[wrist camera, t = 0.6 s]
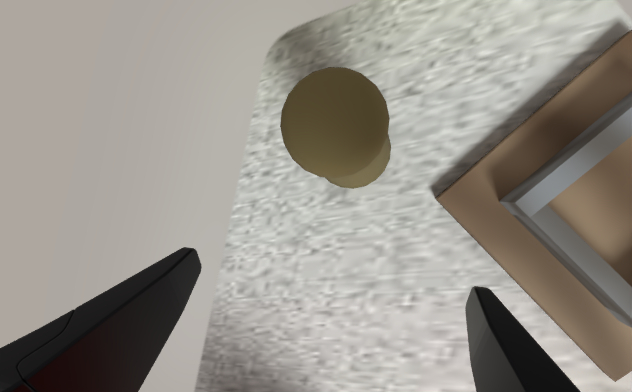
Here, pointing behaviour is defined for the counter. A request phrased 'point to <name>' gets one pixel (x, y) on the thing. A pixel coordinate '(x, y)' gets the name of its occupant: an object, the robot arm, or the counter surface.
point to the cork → (337, 127)
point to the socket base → (565, 208)
